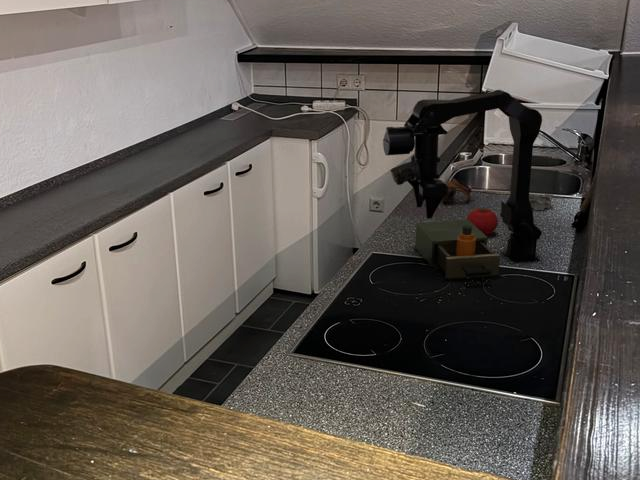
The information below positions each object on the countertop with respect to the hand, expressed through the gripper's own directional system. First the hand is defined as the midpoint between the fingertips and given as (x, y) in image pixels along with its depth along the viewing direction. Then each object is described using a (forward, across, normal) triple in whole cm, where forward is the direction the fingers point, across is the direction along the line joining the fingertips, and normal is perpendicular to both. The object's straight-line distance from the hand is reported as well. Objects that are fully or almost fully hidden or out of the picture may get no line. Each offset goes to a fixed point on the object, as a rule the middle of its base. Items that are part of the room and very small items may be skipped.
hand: (424, 212), depth 193 cm
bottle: (+12, +6, +9) cm, 17 cm away
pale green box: (+14, -6, +9) cm, 18 cm away
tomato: (+15, -20, +23) cm, 34 cm away
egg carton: (+15, -42, +47) cm, 65 cm away
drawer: (+14, +7, +9) cm, 18 cm away
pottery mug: (+15, -51, +24) cm, 58 cm away
